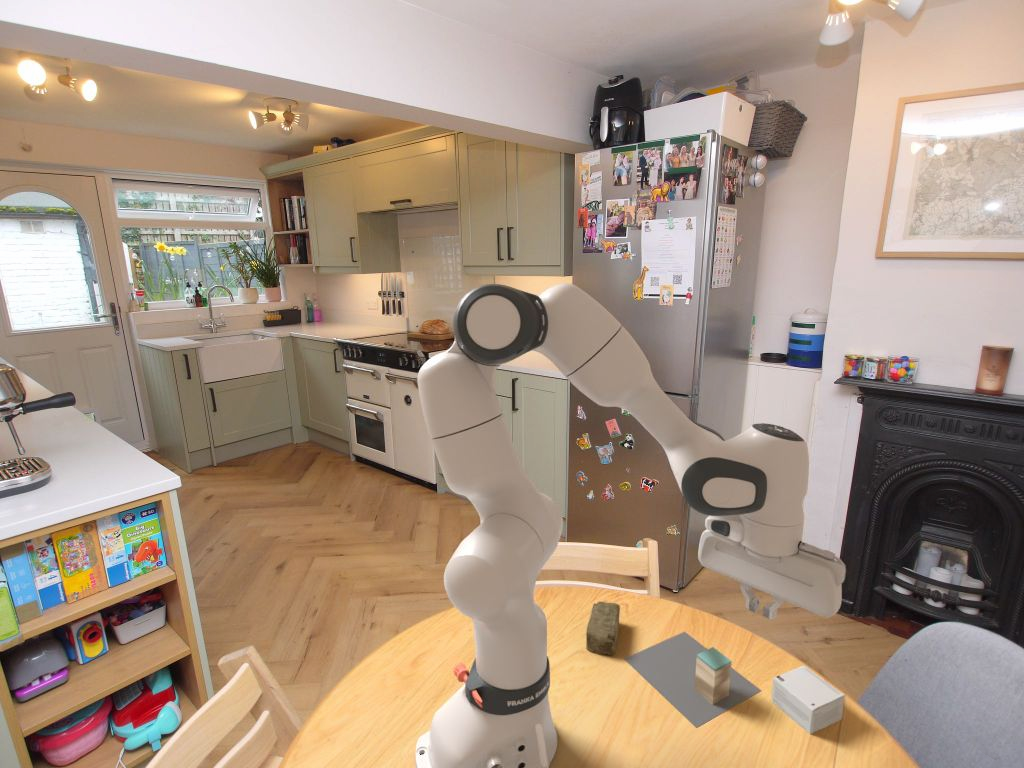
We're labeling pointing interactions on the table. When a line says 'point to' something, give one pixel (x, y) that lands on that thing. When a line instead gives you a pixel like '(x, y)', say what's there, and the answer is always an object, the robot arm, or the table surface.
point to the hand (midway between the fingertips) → (760, 613)
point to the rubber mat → (686, 678)
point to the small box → (807, 699)
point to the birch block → (712, 675)
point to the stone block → (603, 628)
